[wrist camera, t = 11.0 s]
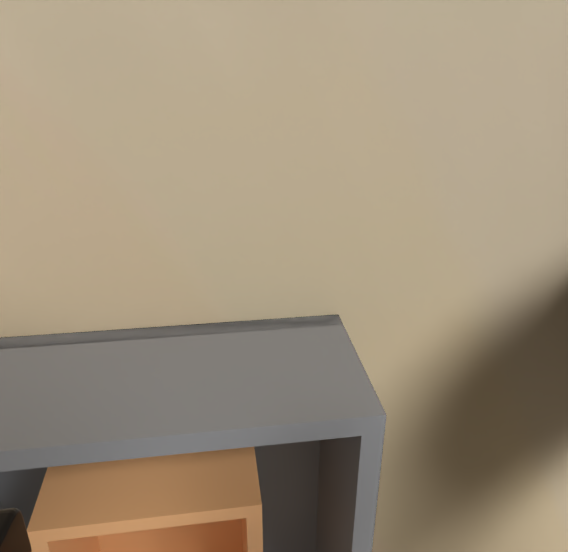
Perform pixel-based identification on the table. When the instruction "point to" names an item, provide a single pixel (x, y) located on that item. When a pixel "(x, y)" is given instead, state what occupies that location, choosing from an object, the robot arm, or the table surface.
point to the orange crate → (152, 505)
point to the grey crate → (205, 415)
